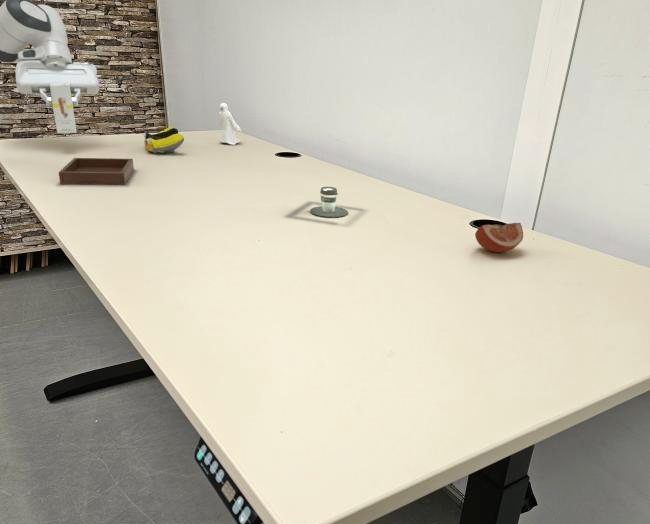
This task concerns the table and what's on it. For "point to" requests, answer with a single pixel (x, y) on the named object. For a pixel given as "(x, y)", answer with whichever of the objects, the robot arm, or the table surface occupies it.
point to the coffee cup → (328, 204)
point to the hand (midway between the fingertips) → (62, 105)
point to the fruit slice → (499, 236)
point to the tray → (97, 171)
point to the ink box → (63, 108)
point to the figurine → (228, 126)
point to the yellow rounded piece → (163, 140)
